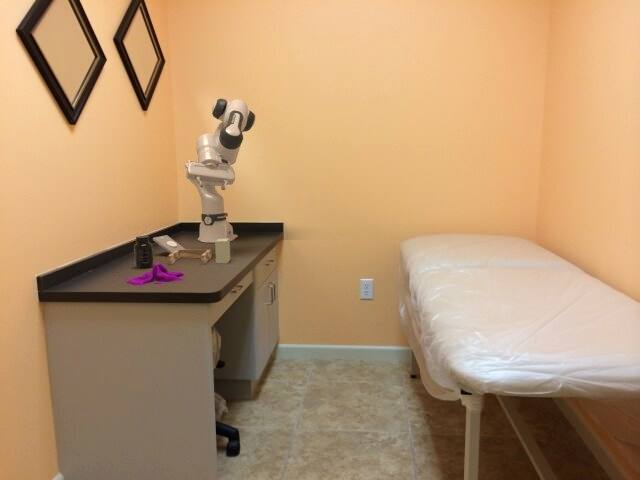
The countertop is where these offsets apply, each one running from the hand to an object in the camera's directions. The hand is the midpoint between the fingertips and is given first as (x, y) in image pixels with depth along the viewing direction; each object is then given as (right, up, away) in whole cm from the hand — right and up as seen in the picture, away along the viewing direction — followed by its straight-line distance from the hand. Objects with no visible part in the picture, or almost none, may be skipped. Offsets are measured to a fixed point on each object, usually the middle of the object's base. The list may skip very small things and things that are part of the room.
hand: (212, 187), depth 206 cm
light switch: (-21, -28, +14) cm, 38 cm away
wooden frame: (-9, -30, 0) cm, 32 cm away
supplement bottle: (-25, -32, -10) cm, 42 cm away
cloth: (-12, -36, -30) cm, 48 cm away
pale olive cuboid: (+5, -30, -2) cm, 31 cm away
